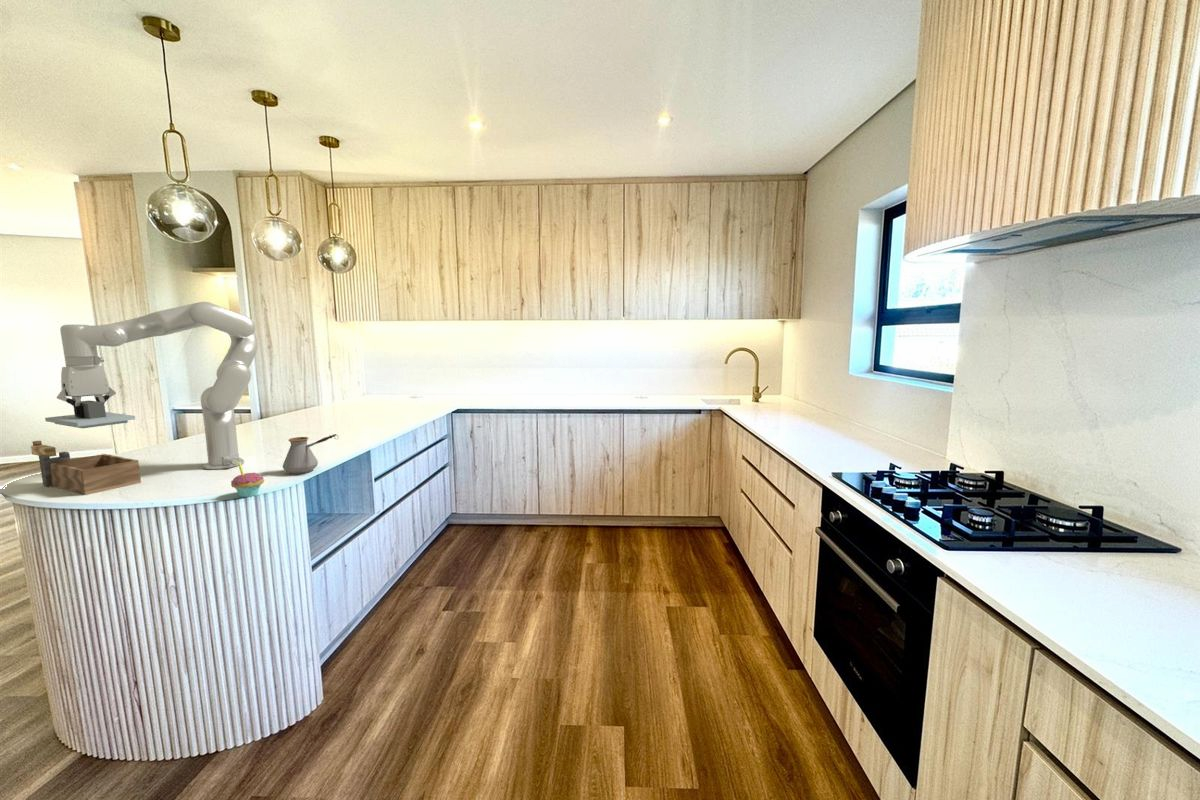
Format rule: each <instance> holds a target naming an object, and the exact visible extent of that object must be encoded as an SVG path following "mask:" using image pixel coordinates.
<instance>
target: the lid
mask: <svg viewBox="0 0 1200 800" xmlns="http://www.w3.org/2000/svg"><path fill="white" fill-rule="evenodd" d="M80 404H81V406H83V411H84V418H78V417H77V416H76V415H75V412H74V411H73V414H69V415H61V416H60V415H58V416H48V417H44V419H45V422H47V423H54V425H59V426H65V427H72V428H77V429H90V428H97V427H104V426H111V425H112V426H113V425H119V424H126V423H129V421H132V420H136V415H131V414H125V413H124V414H123V413H117V412H116V413H115V412H109V411H106V407H105V403H104V402H98V401H96V400H81V403H80ZM72 408H74V406H73V407H72Z"/></svg>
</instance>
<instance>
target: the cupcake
mask: <svg viewBox="0 0 1200 800" xmlns="http://www.w3.org/2000/svg"><path fill="white" fill-rule="evenodd" d="M237 461H238V460H237ZM238 462H239V461H238ZM238 465H239V466H238V470H239V471H240V475H237V476H235V477H233V478H232V480H231V485H230V486H231V487H232V488H234V489H235V490H236V493H238V495H239V497H240V498H250V497H254V496H256V495H258V494H259V491H260V488H261V485H262V484H264V482H265V479H264V476H263V475H262V474H260V473H256V472H246V473H244V471H243V466H242V464H241V463H240V462H239V463H238Z"/></svg>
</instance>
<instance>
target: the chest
mask: <svg viewBox="0 0 1200 800" xmlns="http://www.w3.org/2000/svg"><path fill="white" fill-rule="evenodd" d="M58 455H59V456H57V457H55V456H54V457H50V456H49V455H40V456H38V460H39V465H40V474H41V479H42V486H43V487H45V486H47V487H46V488H50V487H49V486H51V487H53V486H55V487H54V488H57V487H58V489H61V488H62V490H66V491H69V492H73V493H77V494H81V495H83V496H88V495H91V494H95V493H101V492H104V491H110V490H114V489H119V488H124V487H129V486H132V485H133V486H134V485H137V484H141V483H142V480H141V470H140V464H139V460H138V459H133V458H127V457H124V456H118V455H112V454H106V453H102V454H96V455H91V456H84V457H79V458H74V459H72V458H71V456H70V452H69V451H60V452H58Z"/></svg>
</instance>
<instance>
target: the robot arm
mask: <svg viewBox="0 0 1200 800" xmlns="http://www.w3.org/2000/svg"><path fill="white" fill-rule="evenodd" d="M205 326H207V327H210V328H212V329H215V330H218V331H221V332H223V333H226V334H227V335H228V336H229V337H230V345H229V348H228V350H227V353H226V354H225V356H224V358H223V360H222V361H221V363H219V366H218V368H217V369H216V374H215V375H216V377H217V378H216V380H215V381H214V384H213V385H212V386H210V387H207V388H206V389H204V390H203V391H202V393H201V395H200V405H201V406H200V407H201V411H202V416H203V425H204V434H205V435H204V437H205V443H206V444H205V445H206V452H207V453H206V454H207V462H206V463H204V464H203V469H206V470H222V469H229V468H234V467H239V465H238V463H239V462H240V463H241V465H243V464H244V463H245V460H244V459H243V458H242V457H240V455H239V447H238V436H237V435H238V434H237V428H236V426H237V423H236V417H235V416H236V415H235V411H234V409H235V408H236V407H237V406H238V404H239V403H240V401H241V399H242V397H243V395H244V393H245V392H246V390H247V388H248V386H249V384H250V381H251V379H252V372H251V369H250V366H251V365H252V363H253V361H254V358H255V356H256V354H257V351H258V338H257V335H256V333H255V332H256V324H255V322H254V321H253V320H252V319H251V318H250V317H248V316H245V315H244V314H241V313H238V312H235V311H232V310H231V309H227V308H226V307H222V306H219V305H217V304H215V303H212V302H209V301H199V302H193V303H190V304H185V305H180V306H176V307H172V308H167V309H163V310H162V309H161V310H159V311H154V312H151V313H148V314H146V315H142V316H138V317H134V318H130V319H125V320H121V321H117V322H112V323H108V324H98V325H96V324H95V325H89V324H63V325H61V326H60V328H59V329H60V338H61V343H62V349H63V356H64V362H65V366H62V367H61V373H60V378H61V379H60V384H61V391H60V392H59V393H58V395H57V396H56V399H57V400H60V401H63V402H65V403H68V404H70V405H71V406H74V407H73V413H74V412H75V413H74V415H76V416H77V417H78V418H84V411H83V406H81V404H80V403H81V401H82V397H91V396H92V397H94V399H95V401H98V402H104V404H106V402H107V401H108V400H109V399H111V398H112V397H113V396H115V395H116V394H117V392H116V391H115V390H114V389H113V388H111V386H109V382H108V378H107V374H106V372H105V370H104V367H103V365H101V363H104V362H105V358H104V357H100V356H99V353H98V348H97V346H99V347H112V348H113V347H119V346H122V345H124V344H127V343H132V342H136V341H139V340H145V339H149V338H153V337H161V336H162V337H163V336H169V335H172V334H173V335H174V334H175V333H176V334H177V333H180V332H184V331H188V330H192V329H197V328H201V327H205ZM69 397H71V398H69ZM237 460H238V461H239V462H238V461H237Z"/></svg>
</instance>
